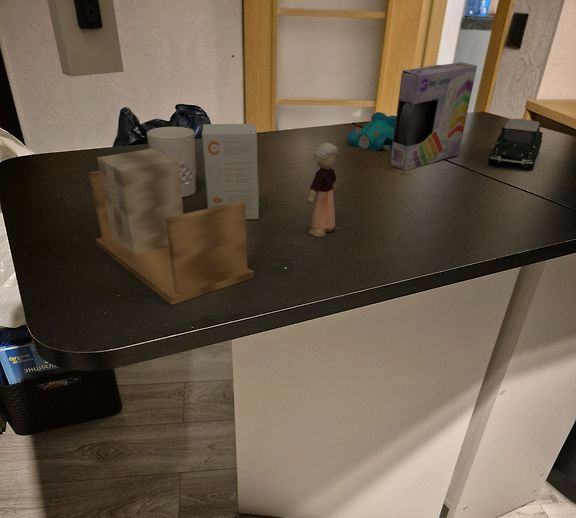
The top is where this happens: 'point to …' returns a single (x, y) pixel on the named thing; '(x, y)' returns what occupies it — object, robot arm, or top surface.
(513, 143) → the miniature car
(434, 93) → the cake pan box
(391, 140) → the toy car
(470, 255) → the top surface
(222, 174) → the small box
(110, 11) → the cream book
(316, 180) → the grandmother figurine
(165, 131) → the white cup
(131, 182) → the book rack
